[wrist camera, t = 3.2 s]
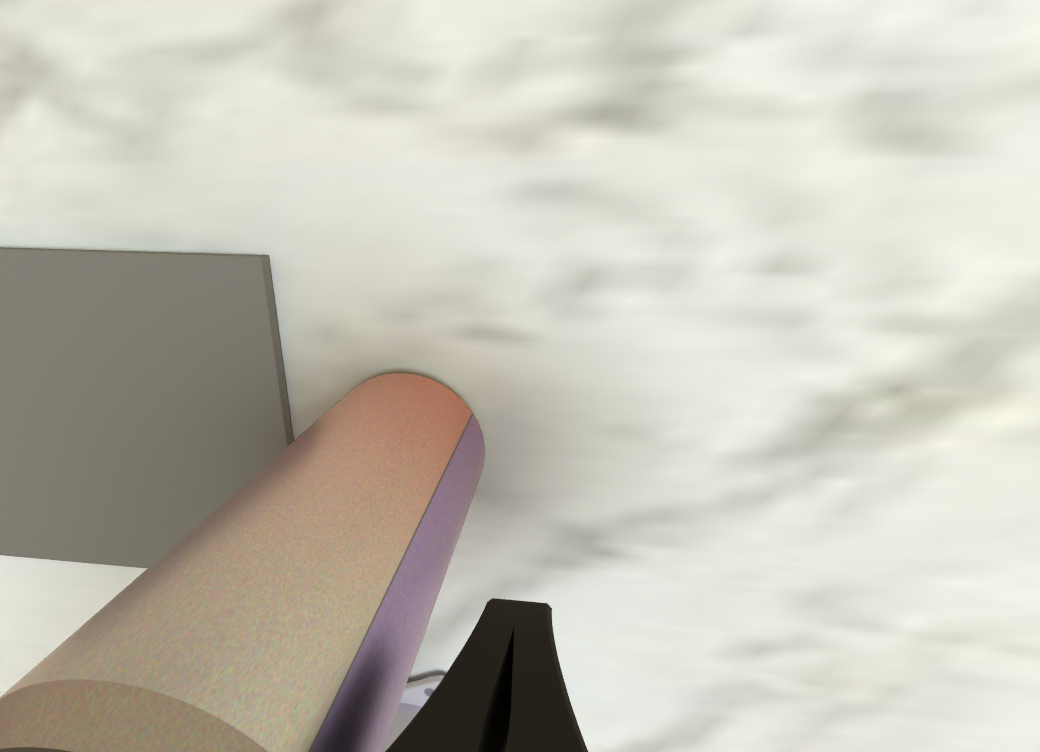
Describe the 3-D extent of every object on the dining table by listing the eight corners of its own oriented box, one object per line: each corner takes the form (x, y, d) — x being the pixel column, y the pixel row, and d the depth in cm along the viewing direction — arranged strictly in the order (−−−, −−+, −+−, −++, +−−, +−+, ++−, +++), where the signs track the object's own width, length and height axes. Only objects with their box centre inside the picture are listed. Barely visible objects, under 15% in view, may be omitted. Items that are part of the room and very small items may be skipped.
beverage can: (515, 469, 21) (386, 1017, 7) (394, 525, 23) (88, 1071, 9) (435, 339, 20) (80, 704, 6) (311, 408, 21) (-213, 832, 7)
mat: (268, 255, 20) (260, 256, 19) (311, 575, 24) (306, 582, 24) (-166, 242, 21) (-183, 243, 21) (-49, 542, 26) (-61, 549, 25)
